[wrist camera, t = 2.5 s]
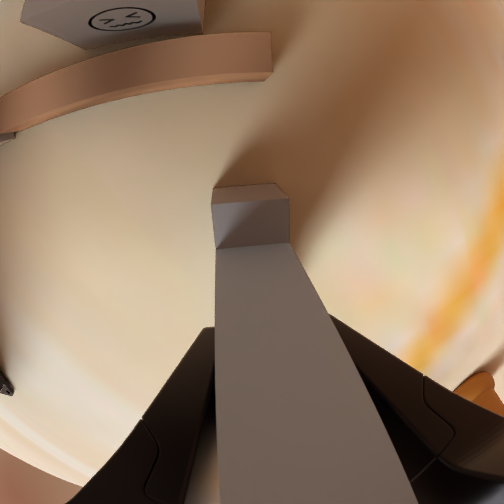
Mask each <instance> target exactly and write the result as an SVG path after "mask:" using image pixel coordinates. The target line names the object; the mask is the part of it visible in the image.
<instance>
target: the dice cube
mask: <svg viewBox="0 0 504 504" xmlns="http://www.w3.org/2000/svg"><path fill="white" fill-rule="evenodd" d="M204 11H205V0H25V2H24V6H23V10H22V14H21V18H20V22H21V23H24V24H27V25H29V26H32V27H34V28H37V29H40V30H42V31H44V32H47V33H49V34H52V35H54V36H56V37H59V38H61V39H63V40H66V41H68V42H70V43H72V44H75V45H77V46H79V47H81V48H83V49H85V50H87V49H91V48H95V47H99V46H104V45H108V44H113V43H118V42H124V41H130V40H136V39H143V38H151V37H159V36H169V35H182V34H201V33H203V24H204Z"/></svg>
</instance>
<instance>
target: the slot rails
mask: <svg viewBox="0 0 504 504" xmlns="http://www.w3.org/2000/svg"><path fill="white" fill-rule="evenodd" d="M272 72H273V67H272V53H271V39H270V32H236V33H219V34H207V35H197V36H189V37H182V38H175V39H169V40H163V41H157V42H152V43H147V44H142V45H138V46H133V47H129V48H125V49H121V50H117V51H114V52H110V53H106V54H103V55H100V56H96V57H93V58H90V59H87V60H84V61H81V62H78V63H75V64H73V65H70V66H67V67H64V68H62V69H59V70H57V71H54V72H52V73H49V74H47V75H45V76H42V77H40V78H38V79H36V80H34V81H31V82H29V83H27V84H25V85H23V86H21V87H19V88H17V89H15V90H13V91H11V92H9V93H7V94H6V95H4V96H2V97H0V134H3V133H9V132H16V131H22V130H24V129H27V128H29V127H31V126H34V125H37V124H39V123H42V122H44V121H47V120H50V119H53V118H56V117H58V116H61V115H64V114H67V113H70V112H74V111H77V110H80V109H83V108H87V107H90V106H94V105H98V104H101V103H105V102H109V101H113V100H117V99H122V98H126V97H131V96H135V95H140V94H145V93H151V92H156V91H162V90H168V89H175V88H182V87H189V86H198V85H207V84H218V83H232V82H252V81H265V80H266V78H267V77H268V76H269V75H270V74H271V73H272Z"/></svg>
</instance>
